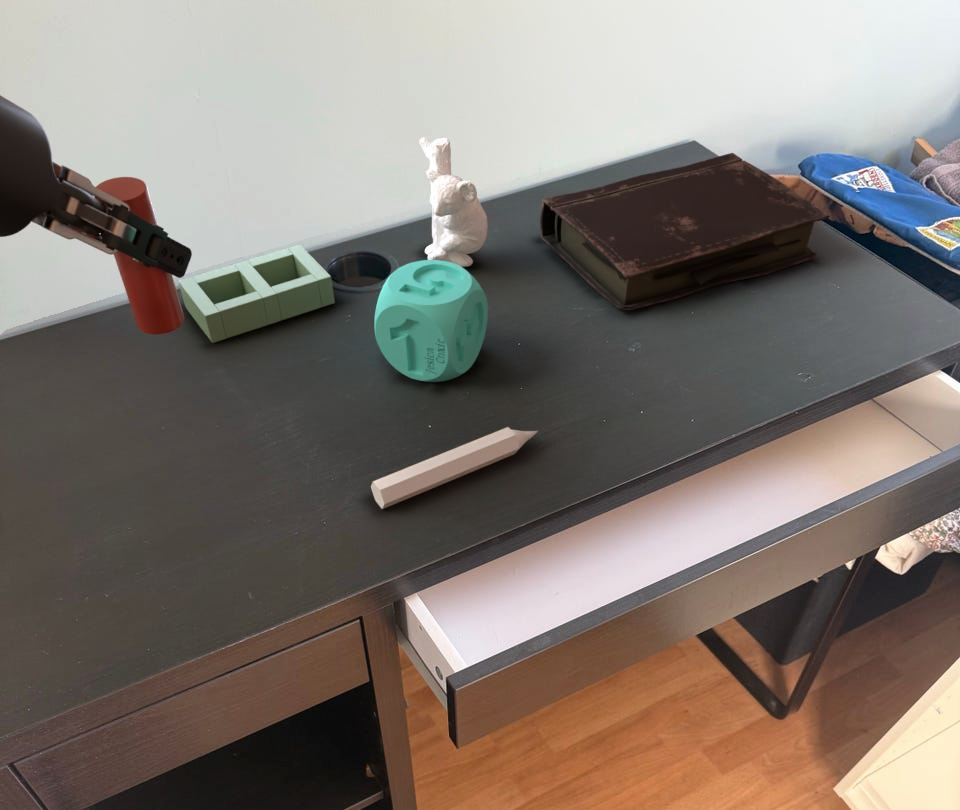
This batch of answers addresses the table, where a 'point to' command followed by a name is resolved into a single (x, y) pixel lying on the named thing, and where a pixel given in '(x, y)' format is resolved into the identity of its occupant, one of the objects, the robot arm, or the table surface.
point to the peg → (144, 285)
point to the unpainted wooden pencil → (448, 466)
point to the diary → (680, 230)
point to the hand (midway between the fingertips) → (164, 254)
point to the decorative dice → (431, 320)
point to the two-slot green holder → (256, 292)
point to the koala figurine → (452, 209)
